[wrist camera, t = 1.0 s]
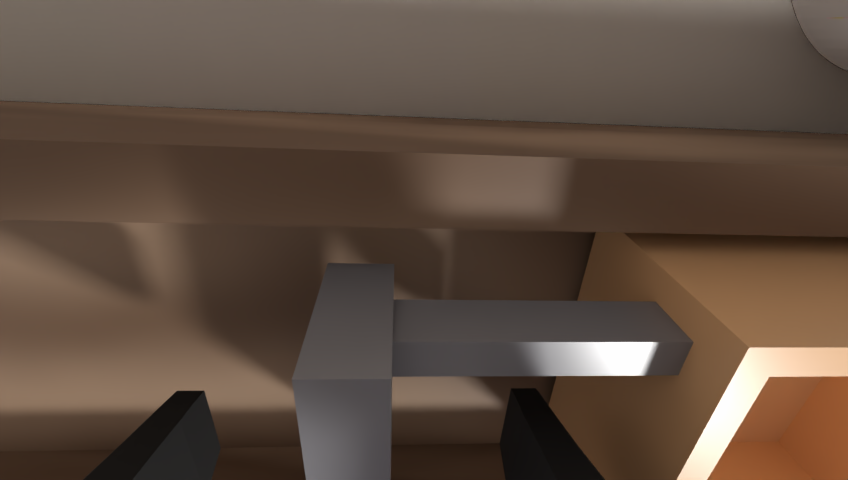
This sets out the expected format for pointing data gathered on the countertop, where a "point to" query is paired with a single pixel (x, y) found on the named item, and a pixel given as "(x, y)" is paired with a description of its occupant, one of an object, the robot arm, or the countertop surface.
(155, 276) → the bay
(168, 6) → the countertop surface
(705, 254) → the drawer
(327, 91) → the countertop surface
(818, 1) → the cup
